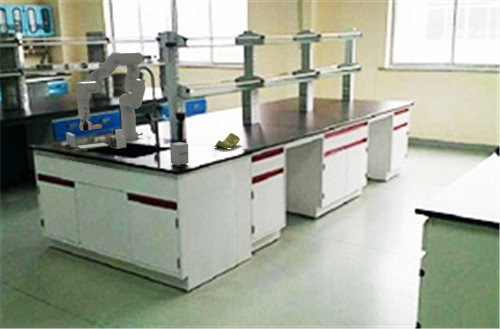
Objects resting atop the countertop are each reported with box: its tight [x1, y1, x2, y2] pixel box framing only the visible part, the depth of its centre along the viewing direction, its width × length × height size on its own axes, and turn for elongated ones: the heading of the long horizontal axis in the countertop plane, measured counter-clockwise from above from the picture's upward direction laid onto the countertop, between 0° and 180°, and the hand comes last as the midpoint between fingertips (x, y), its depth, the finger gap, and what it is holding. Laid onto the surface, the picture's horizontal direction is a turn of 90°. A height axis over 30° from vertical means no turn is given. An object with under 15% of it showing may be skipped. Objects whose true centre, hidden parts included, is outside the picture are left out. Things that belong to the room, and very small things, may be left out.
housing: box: [65, 132, 77, 148], centre depth 355 cm, size 2×12×8 cm, turn 34°
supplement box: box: [169, 141, 189, 165], centre depth 304 cm, size 7×7×13 cm
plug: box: [78, 120, 103, 132], centre depth 351 cm, size 14×4×5 cm, turn 123°
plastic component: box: [214, 132, 241, 149], centre depth 354 cm, size 20×7×10 cm
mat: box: [76, 142, 109, 150], centre depth 355 cm, size 18×9×1 cm, turn 123°
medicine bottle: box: [109, 128, 127, 150], centre depth 350 cm, size 7×7×12 cm
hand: (84, 129), depth 350 cm, fingers closed on plug, 4 cm apart
